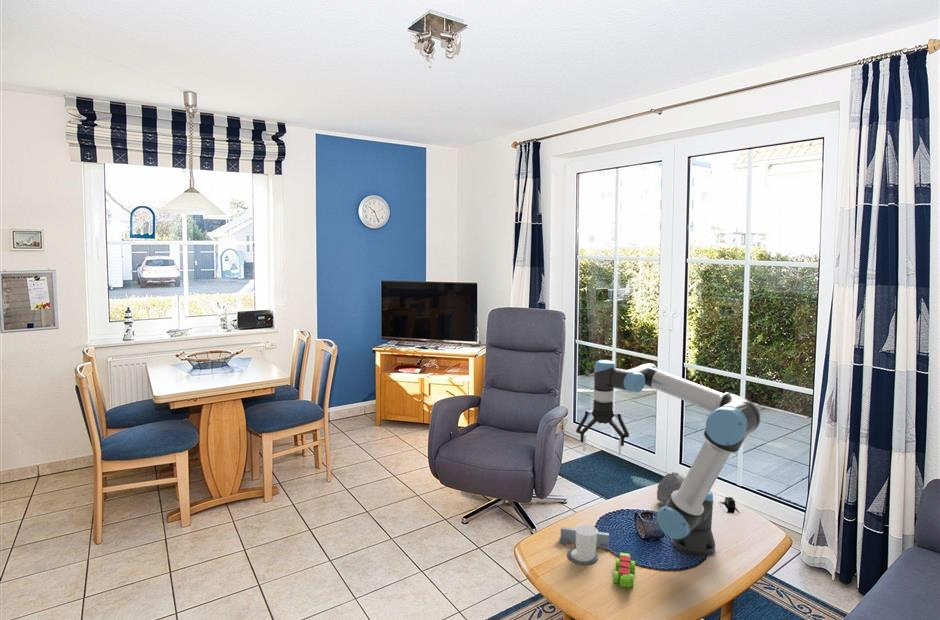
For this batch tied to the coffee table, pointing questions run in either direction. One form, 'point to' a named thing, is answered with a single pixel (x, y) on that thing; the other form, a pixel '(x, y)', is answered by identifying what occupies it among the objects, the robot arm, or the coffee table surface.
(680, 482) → the decorative rock
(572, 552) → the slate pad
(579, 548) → the white cup
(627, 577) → the toy crocodile
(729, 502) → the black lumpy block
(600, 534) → the grey rectangular bar
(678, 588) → the coffee table surface
